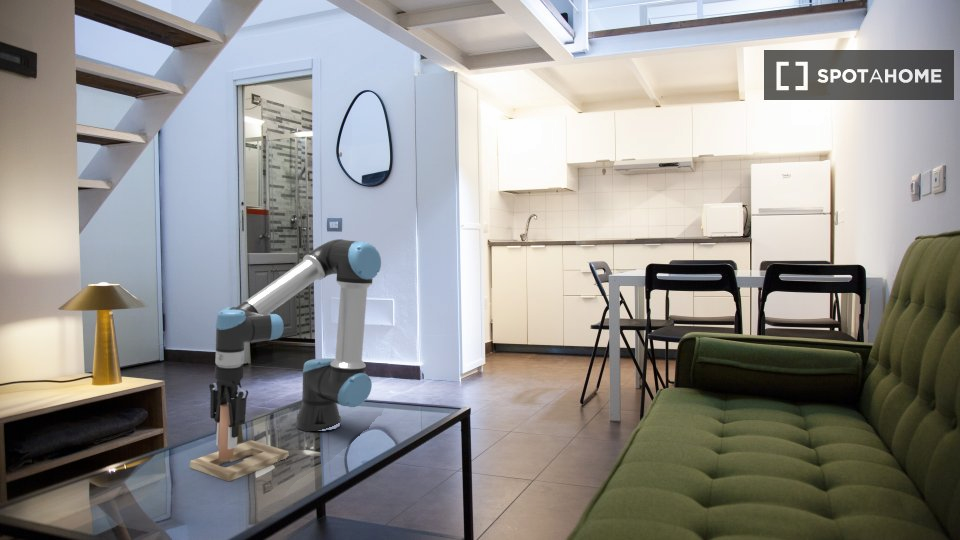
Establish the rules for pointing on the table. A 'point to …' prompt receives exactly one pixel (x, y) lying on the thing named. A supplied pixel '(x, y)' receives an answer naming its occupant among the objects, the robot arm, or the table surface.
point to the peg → (224, 434)
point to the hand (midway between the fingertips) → (226, 445)
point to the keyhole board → (261, 459)
